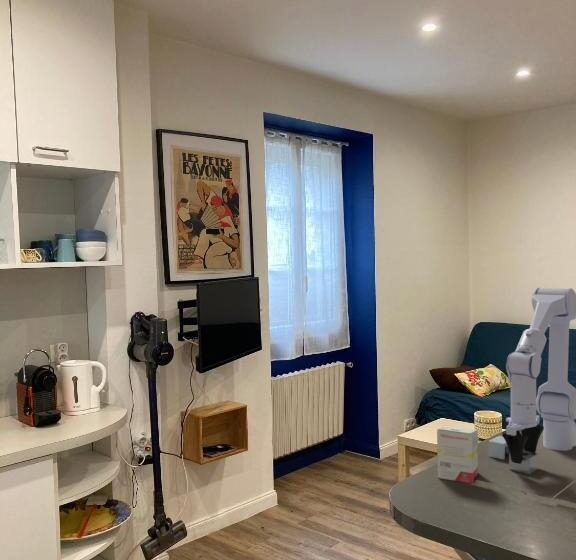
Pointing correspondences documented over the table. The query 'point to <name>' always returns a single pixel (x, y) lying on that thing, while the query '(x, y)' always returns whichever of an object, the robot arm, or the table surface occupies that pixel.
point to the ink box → (457, 453)
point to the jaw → (525, 463)
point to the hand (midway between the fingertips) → (523, 458)
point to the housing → (498, 448)
